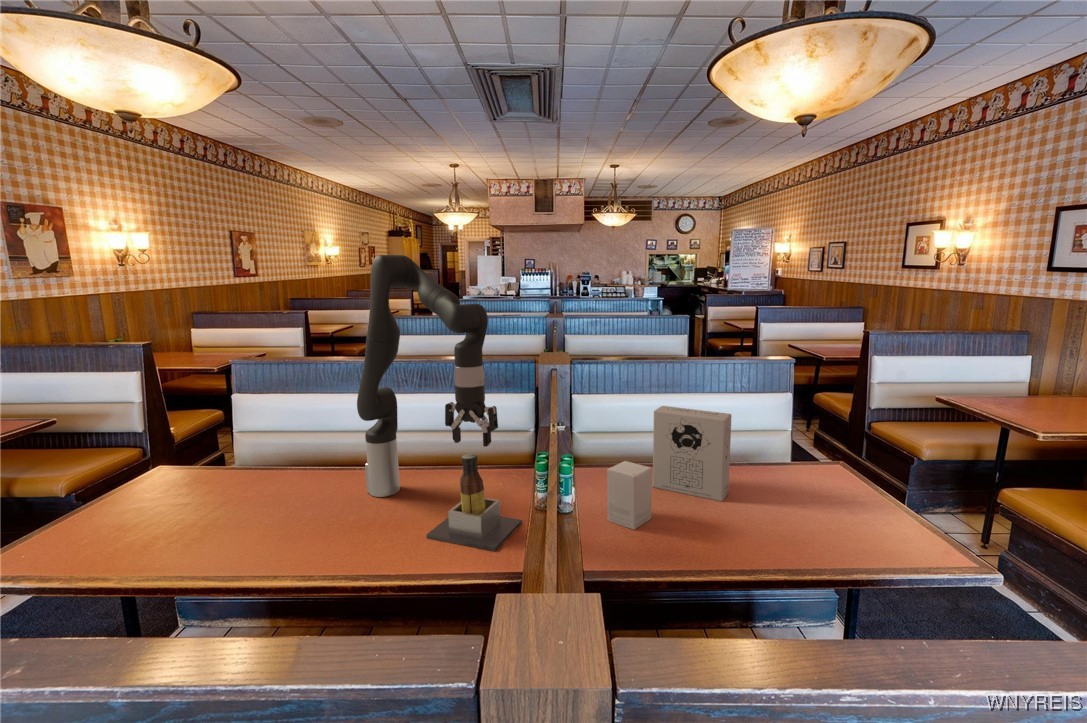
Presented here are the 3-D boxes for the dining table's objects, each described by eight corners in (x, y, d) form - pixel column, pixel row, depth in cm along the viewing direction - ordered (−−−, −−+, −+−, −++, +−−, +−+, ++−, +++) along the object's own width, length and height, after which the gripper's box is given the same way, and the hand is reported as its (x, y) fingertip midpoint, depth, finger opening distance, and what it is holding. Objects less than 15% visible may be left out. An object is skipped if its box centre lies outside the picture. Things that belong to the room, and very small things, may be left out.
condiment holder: (426, 537, 139) (425, 512, 138) (458, 512, 153) (457, 489, 152) (495, 551, 131) (494, 525, 130) (522, 523, 146) (521, 499, 145)
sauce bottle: (488, 521, 145) (486, 451, 142) (483, 532, 139) (480, 459, 136) (465, 521, 146) (461, 451, 142) (459, 532, 139) (455, 459, 136)
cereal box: (728, 492, 163) (731, 413, 159) (722, 502, 157) (725, 419, 153) (660, 479, 175) (662, 405, 170) (652, 487, 168) (653, 410, 164)
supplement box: (652, 519, 147) (653, 467, 144) (634, 530, 140) (634, 476, 138) (624, 509, 153) (625, 459, 151) (606, 520, 147) (606, 468, 144)
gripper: (437, 383, 135) (440, 445, 138) (487, 387, 129) (489, 451, 132) (453, 378, 142) (455, 437, 144) (501, 381, 136) (503, 442, 139)
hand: (472, 443), depth 138 cm, fingers open, 8 cm apart
